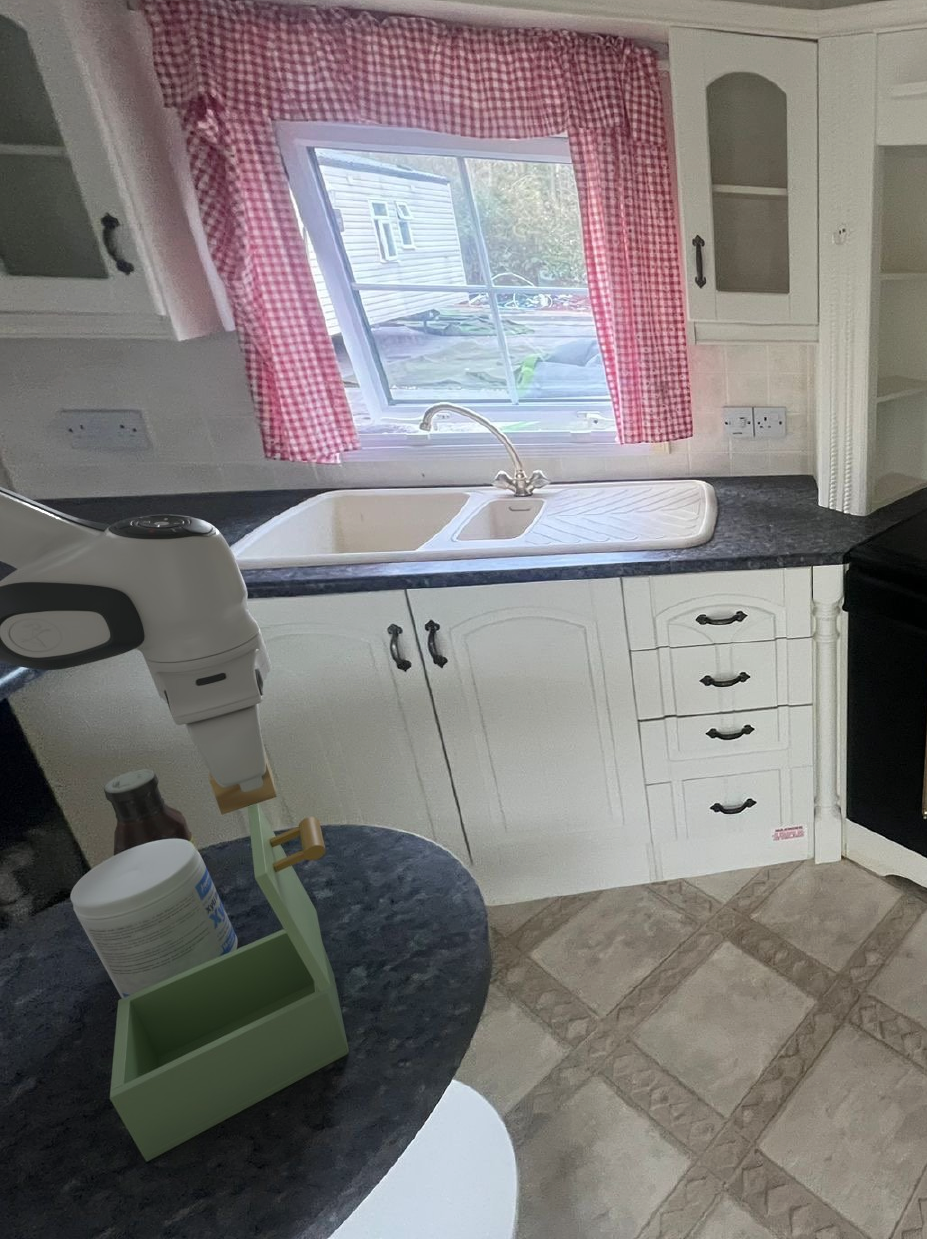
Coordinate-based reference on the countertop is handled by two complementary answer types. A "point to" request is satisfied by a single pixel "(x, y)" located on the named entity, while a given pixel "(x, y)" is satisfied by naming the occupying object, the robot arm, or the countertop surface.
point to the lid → (290, 886)
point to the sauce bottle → (143, 812)
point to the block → (238, 799)
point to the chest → (220, 1041)
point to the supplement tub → (152, 914)
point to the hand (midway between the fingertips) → (251, 773)
